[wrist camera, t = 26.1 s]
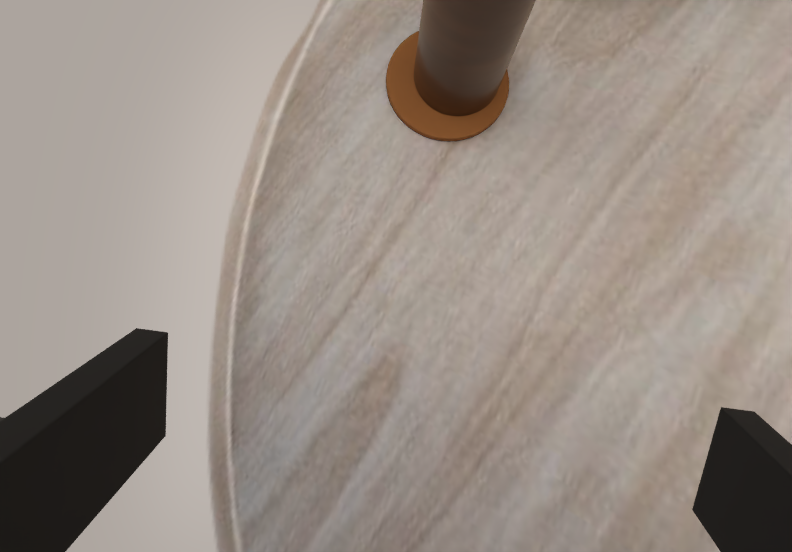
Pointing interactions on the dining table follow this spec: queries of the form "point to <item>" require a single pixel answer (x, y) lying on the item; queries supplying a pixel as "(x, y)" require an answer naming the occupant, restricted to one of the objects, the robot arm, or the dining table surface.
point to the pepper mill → (466, 51)
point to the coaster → (421, 114)
